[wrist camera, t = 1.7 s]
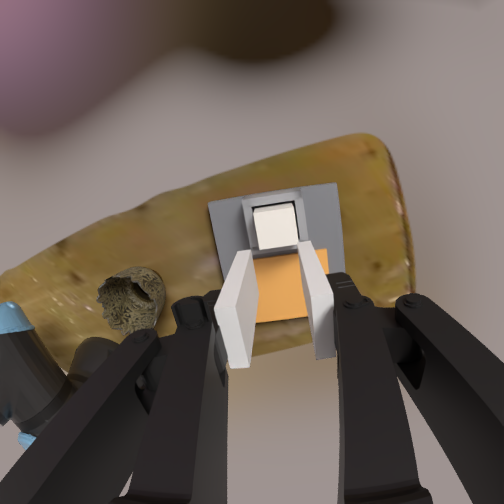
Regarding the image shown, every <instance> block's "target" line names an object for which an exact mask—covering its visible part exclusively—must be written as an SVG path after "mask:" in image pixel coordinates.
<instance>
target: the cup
mask: <svg viewBox="0 0 504 504" xmlns="http://www.w3.org/2000/svg"><path fill="white" fill-rule="evenodd" d="M98 293H99V296H98V297H97V302H98V303H102V307H103V308H104V312H103V313H102V316H103V318H104V319H108V323H109V325H110V327H111V328H112V329H117V330H118V329H120V330H122V332H121V333H122V335H126V334H127V333H128V332H130V334H131V333H133V332H135V331H136V330H140V329H143V328H144V329H146V328H150V329H153V328H154V327H155V325H156V322H157V320H158V318H159V316H160V313H161V311H162V309H163V306H164V303H165V298H166V292H165V287H164V284H163V280H162V278H161V276H160V275H159V273H157V272H156V271H154V270H151V269H148V268H145V267H132V268H129V269H126V270H124V271H122V272H120V273H118V274H116V275H114V276H112V277H110V278H108V279H106V280H105V282H104V283H103V284H102V285H101V286H100V287H99V288H98Z"/></svg>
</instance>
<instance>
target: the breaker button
mask: <svg viewBox="0 0 504 504" xmlns="http://www.w3.org/2000/svg"><path fill="white" fill-rule="evenodd" d="M253 215H254V221H255V227H256V232H257V238H258V244H259V249H260V250H262V249H269V248H276V247H283V246H290V245H297V243H298V242H299V241H298V234H297V227H296V220H295V213H294V207H293V205H292V202H291V203H284V204H277V205H271V206H264V207H258V208H255V210H254V213H253Z"/></svg>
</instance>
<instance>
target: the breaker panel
mask: <svg viewBox="0 0 504 504" xmlns="http://www.w3.org/2000/svg"><path fill="white" fill-rule="evenodd" d="M291 202H292V205H293V207H294V213H295V220H296V227H297V234H298V241H299V242H305V241H311V243H312V245H313V248H314V250H315V252H316V254H317V257H318V259H319V261H320V263H321V266H322V268H323V270H324V273H325V274H331V273H337V272H344V273H345V261H344V248H343V236H342V226H341V216H340V207H339V198H338V191H337V183H326V184H318V185H311V186H303V187H296V188H289V189H282V190H276V191H269V192H263V193H257V194H251V195H245V196H239V197H234V198H228V199H222V200H217V201H212V202H209V203H208V207H209V212H210V217H211V222H212V226H213V231H214V236H215V241H216V245H217V250H218V254H219V259H220V264H221V268H222V272H223V277H224V281H225V280H226V278H227V275H228V273H229V270H230V268H231V266H232V263H233V261H234V258H235V256H236V254H237V251H243V250H250V249H251V253H252V258H253V263H254V269H255V274H256V280H257V285H258V290H259V299H258V307H257V315H256V323H259V322H267V321H275V320H283V319H291V318H298V317H305V316H308V313H307V308H306V303H305V298H304V293H303V288H302V280H301V272H300V264H299V256H298V249H297V245H290V246H283V247H276V248H269V249H262V250H260V249H259V244H258V238H257V232H256V227H255V221H254V215H253V213H254V210H255V208H258V207H264V206H271V205H277V204H284V203H291Z"/></svg>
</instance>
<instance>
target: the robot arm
mask: <svg viewBox="0 0 504 504" xmlns="http://www.w3.org/2000/svg"><path fill="white" fill-rule="evenodd" d="M297 249H298V256H299V264H300V272H301V280H302V288H303V293H304V298H305V303H306V308H307V313H308V318H309V324H310V329H311V334H312V340H313V345H314V351H315V356H316V360H319V359H326V358H332V357H336V350H337V367H338V369H337V372H338V374H337V375H338V376H337V377H338V385H339V419H340V420H339V421H340V451H339V452H340V453H339V483H338V502H337V504H433V501H432V497H431V494H430V493H429V491H428V489H426V488H423V487H422V486H421V485H420V482H419V478H418V471H417V465H416V460H415V453H414V448H413V443H412V438H411V433H410V428H409V423H408V419H407V415H406V410H405V406H404V402H403V398H402V394H401V390H400V386H399V383H398V379H397V377H398V378H399V380H400V381H401V383H402V384H403V386H404V387H405V389H406V390H407V392H408V394H409V395H410V397H411V398H412V400H413V402H414V403H415V405H416V406H417V408H418V409H419V411H420V413H421V414H422V416H423V417H424V419H425V420H426V422H427V424H428V425H429V427H430V429H431V430H432V432H433V434H434V435H435V437H436V439H437V440H438V442H439V444H440V445H441V447H442V449H443V450H444V452H445V454H446V456H447V457H448V459H449V461H450V462H451V464H452V466H453V468H454V470H455V471H456V473H457V475H458V477H459V479H460V480H461V482H462V484H463V486H464V488H465V490H466V492H467V493H468V495H469V497H470V499H471V501H472V503H473V504H504V363H503V362H502V361H501V360H500V359H499V358H498V357H496V356H495V355H494V354H493V353H492V352H491V351H490V350H489V349H488V348H486V346H485V345H483V344H482V343H481V342H480V341H479V340H478V339H477V338H476V337H474V336H473V335H472V334H471V333H470V332H469V331H467V330H466V329H465V328H464V327H463V326H462V325H461V324H459V323H458V322H457V321H456V320H455V319H454V318H452V317H451V316H450V315H449V314H448V313H446V312H445V311H444V310H443V309H441V308H440V307H439V306H438V305H437V304H435V303H434V302H433V301H431V300H430V299H429V298H428V297H426V296H424V295H420V294H417V293H414V294H413V293H410V294H406V295H403V296H400V297H399V298H398V299H397V300H396V303H395V307H393V308H383V307H375V306H374V303H373V301H372V300H371V299H370V298H368V297H366V296H361V294H360V292H359V291H358V289H357V287H356V286H355V284H354V282H353V281H352V279H351V278H350V276H349V275H347V274H346V273H344V272H337V273H331V274H325V273H324V270H323V268H322V266H321V263H320V261H319V259H318V257H317V254H316V252H315V250H314V248H313V245H312V243H311V241H305V242H298V243H297ZM258 299H259V290H258V285H257V280H256V274H255V269H254V263H253V258H252V253H251V249H250V250H243V251H237V254H236V256H235V258H234V261H233V263H232V266H231V268H230V270H229V273H228V275H227V278H226V280H225V283H224V285H223V287H222V289H220V290H212V291H209V292H208V293H207V294H206V295H204V297H203V296H190V297H186V298H183V299H181V300H178V301H177V302H175V303H174V304H173V305H172V306H171V309H172V312H173V315H174V318H175V321H176V324H177V329H176V332H175V334H173V335H169V336H165V337H161V338H159V337H158V334H157V332H156V331H155V330H154V329H150V328H146V329H144V328H143V329H140V330H136V331H135V332H133V333H131V334H130V335H129V336H127V337H126V338H125V339H124V340H123V341H122V343H121V344H120V345H119V344H118V343H116V342H113V341H111V340H109V339H105V338H101V337H90V338H87V339H85V340H84V341H83V342H82V343H81V344H80V345H79V346H78V348H77V349H76V352H75V356H74V359H73V361H72V364H71V367H70V370H69V373H68V375H67V376H66V375H65V374H64V372H63V371H62V370H61V368H60V367H59V366H58V364H57V363H56V362H55V360H54V359H53V357H52V356H51V354H50V353H49V351H48V350H47V348H46V347H45V345H44V344H43V342H42V341H41V339H40V338H39V336H38V334H37V333H36V331H35V330H34V329H35V327H34V326H33V325H31V323H30V322H29V320H28V318H27V317H26V315H25V314H24V312H23V311H22V309H21V307H20V306H19V305H18V304H16V303H15V302H11V301H10V302H4V303H1V304H0V427H3V426H4V425H5V424H6V423H7V422H8V421H9V420H12V421H13V422H14V423H15V424H16V425H17V427H19V429H20V430H21V432H20V433H19V434H18V435H19V436H18V442H19V443H20V444H21V445H22V446H23V448H24V449H25V450H26V451H25V452H24V453H23V455H22V456H21V457H20V458H19V460H18V461H17V462H16V463H15V464H14V466H13V467H12V468H11V469H10V471H9V472H8V473H7V474H6V476H5V477H4V478H3V480H2V481H1V482H0V504H227V422H228V420H227V419H228V374H227V370H226V362H227V359H228V362H229V365H230V369H235V368H249V367H250V362H251V354H252V346H253V338H254V331H255V323H256V315H257V307H258ZM133 470H134V471H133ZM132 472H133V474H132ZM131 474H132V479H131V483H130V486H129V490H128V492H127V494H126V495H125V496H121V497H119V495H120V493H121V492H122V490H123V488H124V486H125V484H126V483H127V481H128V479H129V477H130V476H131Z"/></svg>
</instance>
